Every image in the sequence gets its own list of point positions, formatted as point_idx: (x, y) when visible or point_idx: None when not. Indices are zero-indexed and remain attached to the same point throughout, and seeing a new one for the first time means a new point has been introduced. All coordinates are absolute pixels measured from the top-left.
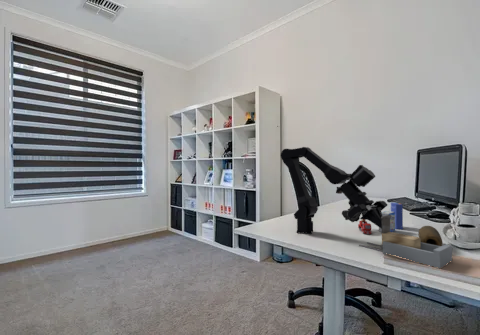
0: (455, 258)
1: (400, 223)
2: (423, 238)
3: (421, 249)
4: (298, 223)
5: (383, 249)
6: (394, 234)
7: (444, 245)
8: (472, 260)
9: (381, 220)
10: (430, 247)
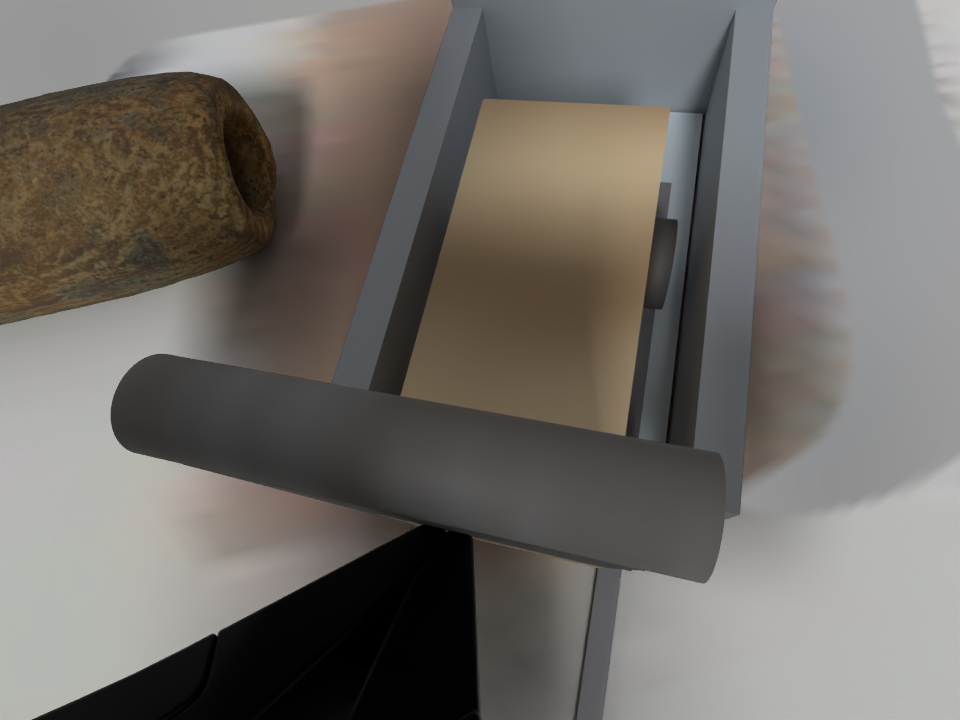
0: (374, 81)
1: None
2: (214, 196)
3: (452, 208)
4: None
5: None
6: (534, 369)
7: None
8: (353, 18)
9: (408, 633)
10: (459, 117)
